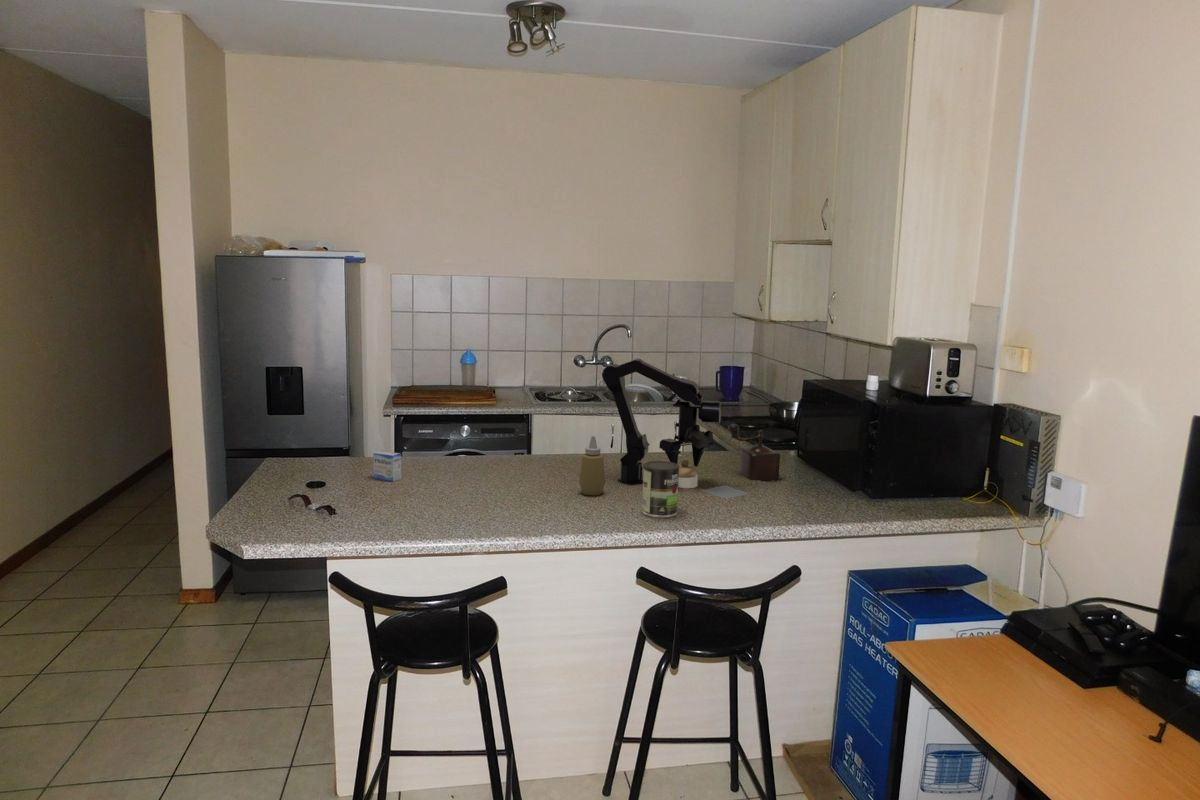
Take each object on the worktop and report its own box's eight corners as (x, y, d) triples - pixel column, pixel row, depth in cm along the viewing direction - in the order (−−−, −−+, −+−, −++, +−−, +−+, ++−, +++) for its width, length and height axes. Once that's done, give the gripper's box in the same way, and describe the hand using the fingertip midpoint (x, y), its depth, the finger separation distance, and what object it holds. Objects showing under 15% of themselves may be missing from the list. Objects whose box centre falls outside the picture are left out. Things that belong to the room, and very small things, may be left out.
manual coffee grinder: (764, 472, 277) (767, 421, 274) (779, 480, 267) (782, 428, 264) (723, 474, 273) (726, 423, 270) (736, 483, 263) (739, 429, 260)
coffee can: (684, 512, 230) (686, 465, 227) (662, 520, 222) (664, 471, 220) (656, 504, 237) (658, 458, 234) (634, 512, 229) (635, 464, 227)
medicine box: (373, 479, 257) (372, 452, 255) (381, 475, 261) (381, 450, 260) (393, 482, 254) (392, 455, 253) (401, 478, 258) (401, 452, 257)
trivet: (725, 500, 242) (725, 499, 242) (700, 492, 251) (700, 490, 251) (750, 495, 249) (750, 493, 249) (724, 487, 257) (724, 485, 257)
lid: (684, 478, 252) (684, 464, 251) (669, 474, 257) (670, 460, 256) (699, 475, 256) (700, 461, 255) (684, 471, 261) (685, 457, 260)
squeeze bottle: (609, 491, 249) (610, 435, 246) (598, 498, 242) (599, 440, 238) (585, 488, 252) (587, 432, 249) (574, 494, 245) (575, 437, 242)
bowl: (684, 491, 251) (684, 479, 251) (667, 485, 258) (667, 473, 257) (702, 487, 256) (702, 475, 256) (685, 482, 263) (685, 470, 262)
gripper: (683, 428, 241) (681, 478, 244) (726, 422, 253) (724, 470, 255) (659, 422, 250) (657, 470, 253) (701, 416, 261) (699, 462, 264)
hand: (685, 468), depth 256 cm, fingers open, 9 cm apart
